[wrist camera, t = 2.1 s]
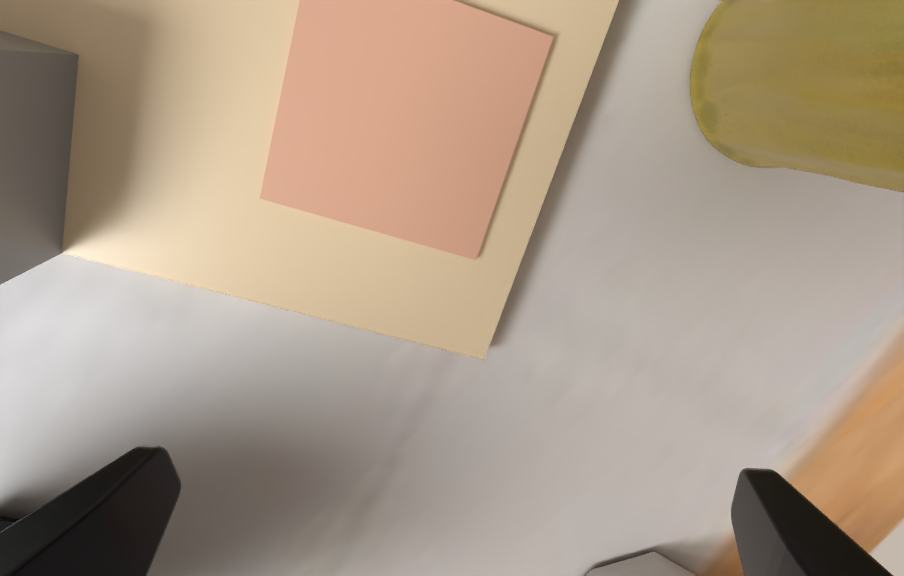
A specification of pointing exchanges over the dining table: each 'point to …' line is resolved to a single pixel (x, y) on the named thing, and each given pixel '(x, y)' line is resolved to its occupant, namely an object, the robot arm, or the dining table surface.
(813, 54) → the vase
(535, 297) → the dining table surface
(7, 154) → the button housing
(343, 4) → the picture board
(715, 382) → the dining table surface
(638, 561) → the flask
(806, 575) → the robot arm
